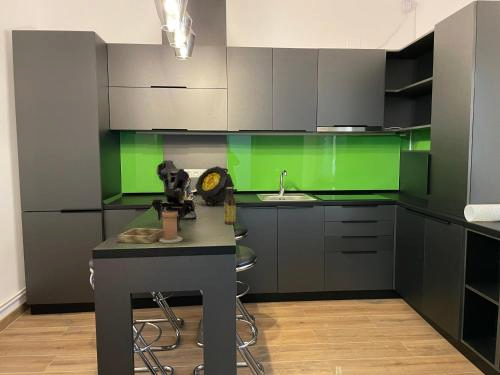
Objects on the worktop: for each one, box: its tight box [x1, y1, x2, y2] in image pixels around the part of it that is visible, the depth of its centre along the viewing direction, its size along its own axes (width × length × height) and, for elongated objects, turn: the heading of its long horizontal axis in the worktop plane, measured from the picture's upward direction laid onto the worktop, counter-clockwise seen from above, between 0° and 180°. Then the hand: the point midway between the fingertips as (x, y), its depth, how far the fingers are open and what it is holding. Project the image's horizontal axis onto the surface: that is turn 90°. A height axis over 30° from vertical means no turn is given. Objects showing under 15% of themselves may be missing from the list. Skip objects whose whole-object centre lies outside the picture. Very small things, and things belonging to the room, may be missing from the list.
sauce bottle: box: [223, 187, 237, 225], centre depth 196 cm, size 6×6×20 cm
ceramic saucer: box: [158, 235, 183, 244], centre depth 158 cm, size 10×10×1 cm
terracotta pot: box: [162, 210, 178, 240], centre depth 158 cm, size 7×7×12 cm
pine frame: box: [117, 227, 163, 244], centre depth 161 cm, size 15×15×3 cm
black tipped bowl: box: [195, 165, 238, 207], centre depth 270 cm, size 28×28×24 cm
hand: (168, 220), depth 156 cm, fingers open, 9 cm apart
